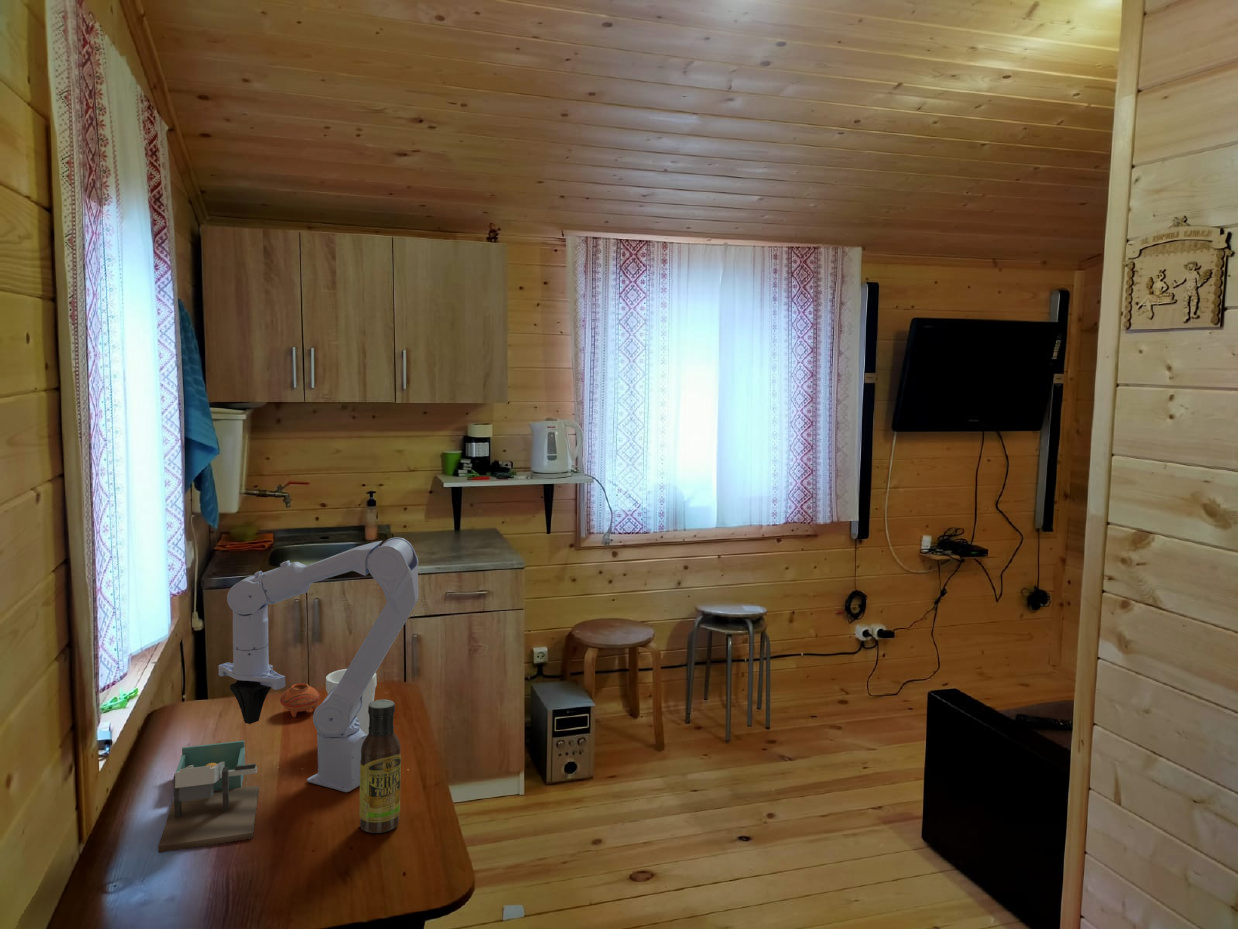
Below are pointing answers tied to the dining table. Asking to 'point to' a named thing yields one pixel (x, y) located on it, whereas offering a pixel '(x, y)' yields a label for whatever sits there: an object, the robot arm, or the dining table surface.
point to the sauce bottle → (380, 771)
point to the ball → (211, 764)
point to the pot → (300, 698)
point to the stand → (210, 818)
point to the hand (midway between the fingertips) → (251, 721)
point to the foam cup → (368, 696)
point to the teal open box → (216, 759)
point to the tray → (205, 779)
